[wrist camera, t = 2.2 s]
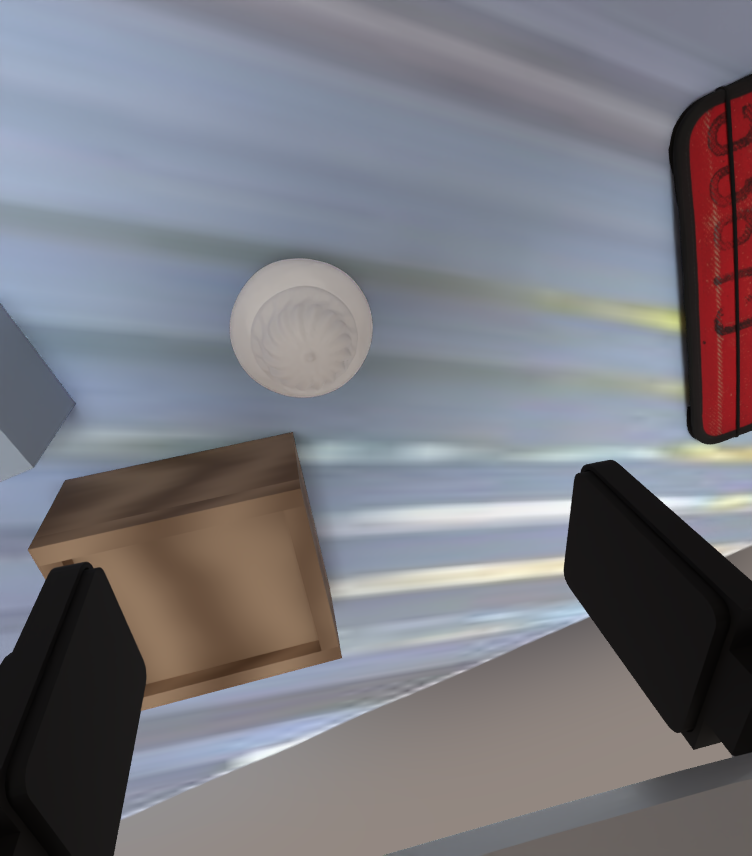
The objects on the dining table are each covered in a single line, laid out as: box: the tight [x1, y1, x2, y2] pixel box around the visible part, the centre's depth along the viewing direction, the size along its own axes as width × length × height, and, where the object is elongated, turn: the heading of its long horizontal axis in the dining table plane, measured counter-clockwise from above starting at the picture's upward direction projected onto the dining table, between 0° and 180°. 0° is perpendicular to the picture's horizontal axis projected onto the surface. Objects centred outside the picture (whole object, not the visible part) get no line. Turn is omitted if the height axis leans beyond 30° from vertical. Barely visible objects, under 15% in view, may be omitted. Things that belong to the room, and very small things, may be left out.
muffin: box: [230, 258, 373, 398], centre depth 23 cm, size 6×6×7 cm
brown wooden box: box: [28, 432, 342, 711], centre depth 30 cm, size 12×12×6 cm
